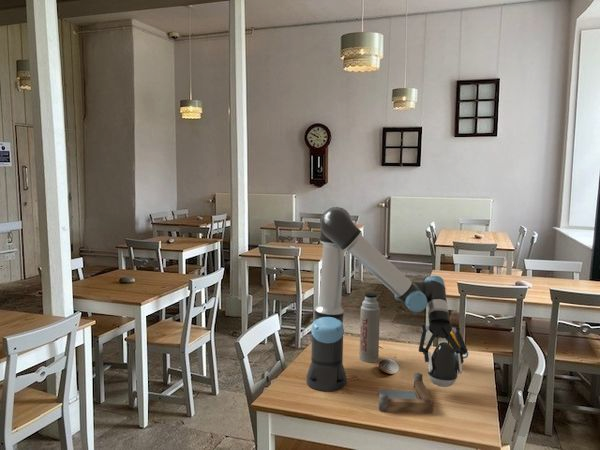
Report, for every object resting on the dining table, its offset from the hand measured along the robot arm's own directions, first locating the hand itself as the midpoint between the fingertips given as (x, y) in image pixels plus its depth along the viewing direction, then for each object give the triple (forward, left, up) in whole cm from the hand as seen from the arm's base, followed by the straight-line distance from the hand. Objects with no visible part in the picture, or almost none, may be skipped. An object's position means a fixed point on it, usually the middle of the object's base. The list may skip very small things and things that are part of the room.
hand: (445, 371), depth 173 cm
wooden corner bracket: (-15, -1, -10) cm, 18 cm away
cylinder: (+11, +30, -10) cm, 34 cm away
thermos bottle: (-23, +35, -10) cm, 43 cm away
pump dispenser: (0, +3, -6) cm, 7 cm away
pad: (-16, -2, -10) cm, 19 cm away
